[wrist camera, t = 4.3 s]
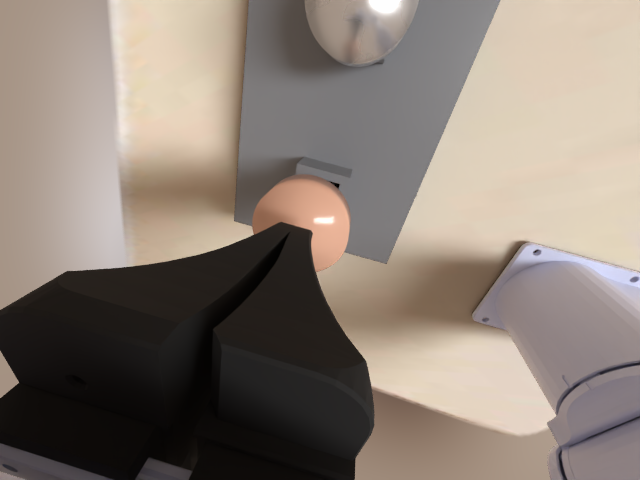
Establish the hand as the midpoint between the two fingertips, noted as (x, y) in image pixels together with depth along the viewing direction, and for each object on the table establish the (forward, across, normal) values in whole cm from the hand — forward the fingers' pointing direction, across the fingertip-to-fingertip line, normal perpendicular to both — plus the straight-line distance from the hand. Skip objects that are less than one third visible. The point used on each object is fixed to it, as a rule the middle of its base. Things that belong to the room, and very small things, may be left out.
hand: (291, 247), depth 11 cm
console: (+10, 0, -4) cm, 11 cm away
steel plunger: (+10, 0, -9) cm, 14 cm away
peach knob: (+7, 0, 0) cm, 7 cm away
